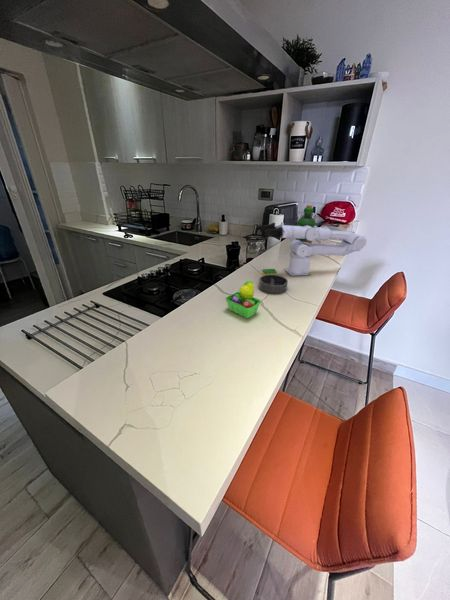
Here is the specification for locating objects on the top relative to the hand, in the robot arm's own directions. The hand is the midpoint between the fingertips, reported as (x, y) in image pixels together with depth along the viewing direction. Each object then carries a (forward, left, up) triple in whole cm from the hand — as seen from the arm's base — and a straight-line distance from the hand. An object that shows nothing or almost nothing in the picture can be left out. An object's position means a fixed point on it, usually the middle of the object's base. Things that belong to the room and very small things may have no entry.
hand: (262, 230), depth 117 cm
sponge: (-3, +6, -22) cm, 23 cm away
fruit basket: (+15, +34, -22) cm, 43 cm away
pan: (-2, +16, -22) cm, 27 cm away
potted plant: (-34, -28, -22) cm, 49 cm away
